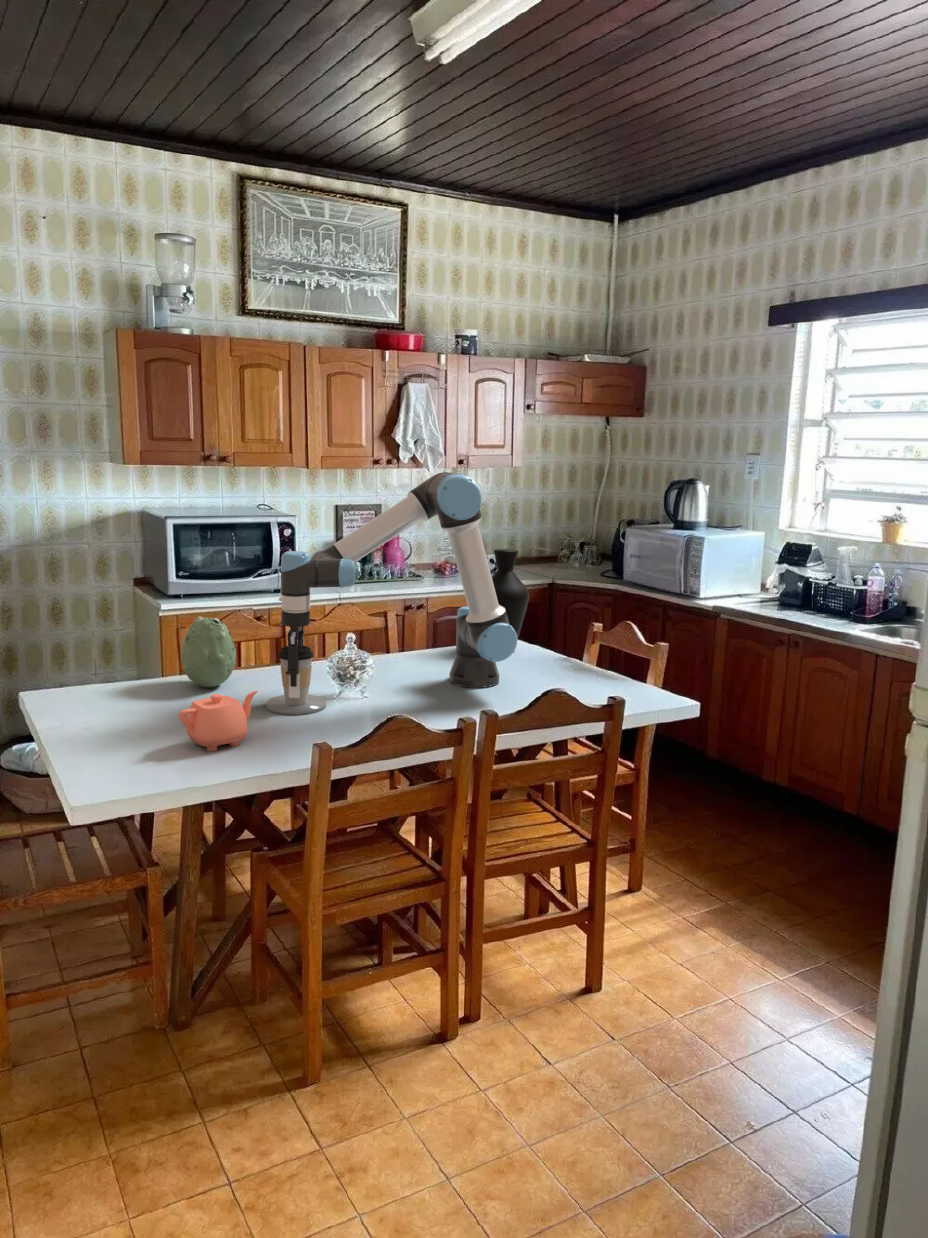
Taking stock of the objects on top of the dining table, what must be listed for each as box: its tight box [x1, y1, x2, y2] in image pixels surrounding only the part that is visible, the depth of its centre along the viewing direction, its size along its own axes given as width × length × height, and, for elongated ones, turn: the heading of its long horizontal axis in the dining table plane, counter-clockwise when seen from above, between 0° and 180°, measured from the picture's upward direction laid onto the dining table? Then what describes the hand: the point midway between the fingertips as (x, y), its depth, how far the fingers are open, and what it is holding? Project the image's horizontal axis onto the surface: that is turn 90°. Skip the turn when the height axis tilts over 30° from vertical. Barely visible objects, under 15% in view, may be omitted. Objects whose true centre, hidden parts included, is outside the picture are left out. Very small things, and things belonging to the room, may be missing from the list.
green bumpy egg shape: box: [181, 615, 237, 688], centre depth 262 cm, size 16×19×20 cm
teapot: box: [178, 690, 258, 752], centre depth 217 cm, size 20×12×12 cm, turn 132°
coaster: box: [265, 694, 327, 716], centre depth 248 cm, size 16×16×1 cm
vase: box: [491, 548, 530, 641], centre depth 313 cm, size 17×17×35 cm
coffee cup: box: [277, 645, 315, 706], centre depth 246 cm, size 9×9×15 cm
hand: (296, 692), depth 247 cm, fingers closed on coffee cup, 8 cm apart
